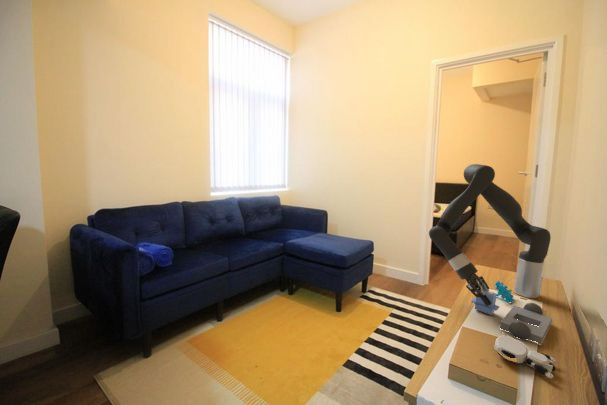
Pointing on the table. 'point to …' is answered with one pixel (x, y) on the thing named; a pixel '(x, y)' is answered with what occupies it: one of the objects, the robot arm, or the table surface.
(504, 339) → the robot toy
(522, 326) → the chassis
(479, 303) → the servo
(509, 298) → the gear
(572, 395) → the table surface
